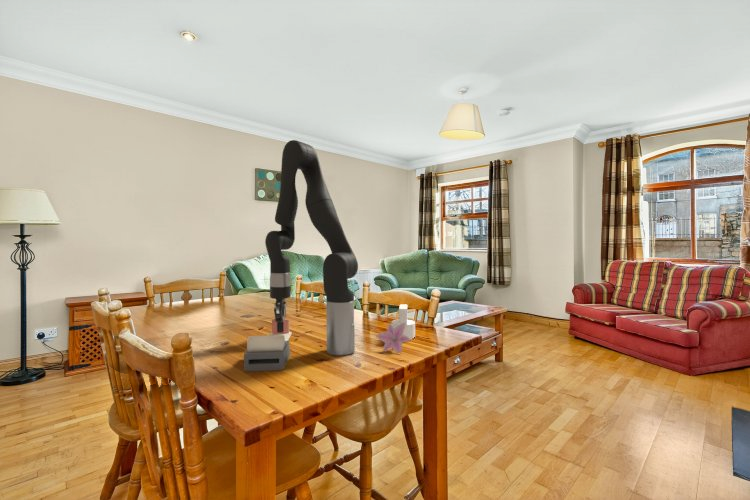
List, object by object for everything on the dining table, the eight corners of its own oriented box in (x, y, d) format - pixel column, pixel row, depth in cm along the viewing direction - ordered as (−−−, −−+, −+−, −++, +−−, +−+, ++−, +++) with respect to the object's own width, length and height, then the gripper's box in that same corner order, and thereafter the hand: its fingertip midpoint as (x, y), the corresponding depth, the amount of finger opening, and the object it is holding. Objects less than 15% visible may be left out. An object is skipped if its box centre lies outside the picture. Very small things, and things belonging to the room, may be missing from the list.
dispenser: (290, 354, 116) (289, 326, 116) (283, 369, 102) (283, 339, 102) (255, 355, 115) (255, 327, 114) (244, 371, 101) (243, 340, 100)
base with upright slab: (392, 334, 140) (392, 304, 139) (414, 334, 139) (415, 304, 138) (390, 340, 131) (390, 308, 130) (415, 341, 130) (415, 309, 130)
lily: (373, 349, 123) (370, 331, 119) (395, 333, 129) (393, 315, 125) (395, 367, 116) (394, 348, 111) (417, 348, 122) (417, 330, 117)
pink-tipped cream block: (291, 333, 132) (291, 318, 132) (283, 350, 113) (283, 332, 112) (270, 333, 132) (270, 319, 131) (258, 351, 112) (258, 333, 112)
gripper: (288, 287, 124) (288, 336, 125) (293, 282, 138) (293, 326, 138) (266, 287, 123) (266, 336, 124) (273, 282, 137) (273, 326, 138)
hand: (280, 331), depth 131 cm, fingers closed on pink-tipped cream block, 2 cm apart
